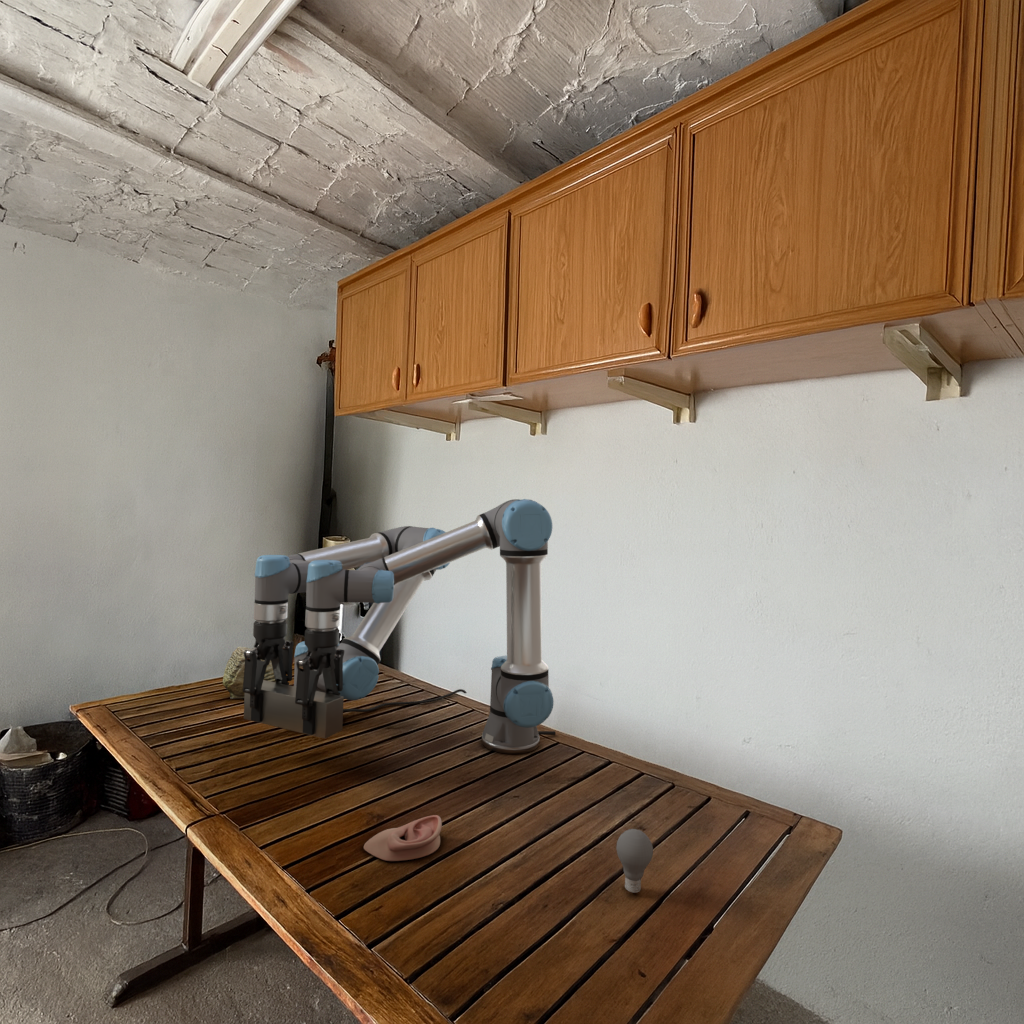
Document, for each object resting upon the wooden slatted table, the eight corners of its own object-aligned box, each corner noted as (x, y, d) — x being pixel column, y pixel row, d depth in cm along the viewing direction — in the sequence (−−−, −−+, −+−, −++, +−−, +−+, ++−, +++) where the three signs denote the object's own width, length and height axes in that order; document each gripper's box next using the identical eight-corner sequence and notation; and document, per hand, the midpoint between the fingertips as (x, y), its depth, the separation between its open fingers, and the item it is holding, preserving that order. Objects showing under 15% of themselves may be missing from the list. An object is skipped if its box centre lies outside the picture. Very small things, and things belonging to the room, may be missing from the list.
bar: (243, 718, 150) (244, 685, 150) (262, 711, 156) (263, 679, 155) (325, 738, 140) (326, 703, 140) (342, 730, 146) (343, 696, 146)
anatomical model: (356, 833, 112) (382, 804, 123) (355, 856, 112) (381, 824, 123) (428, 845, 109) (448, 813, 121) (427, 868, 109) (447, 834, 121)
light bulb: (610, 879, 108) (613, 822, 108) (644, 879, 109) (647, 822, 109) (619, 902, 102) (622, 840, 102) (655, 901, 103) (658, 840, 103)
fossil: (218, 695, 195) (220, 647, 195) (278, 685, 208) (279, 640, 207) (228, 703, 189) (230, 653, 188) (289, 692, 201) (290, 645, 201)
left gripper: (251, 628, 140) (247, 732, 141) (310, 616, 158) (307, 708, 158) (226, 624, 143) (223, 726, 144) (287, 612, 161) (284, 703, 161)
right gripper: (306, 637, 134) (302, 745, 135) (361, 623, 152) (357, 719, 152) (279, 633, 137) (275, 739, 138) (336, 619, 155) (332, 713, 155)
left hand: (267, 716), depth 151 cm, fingers closed on bar, 6 cm apart
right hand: (318, 728), depth 145 cm, fingers closed on bar, 6 cm apart
